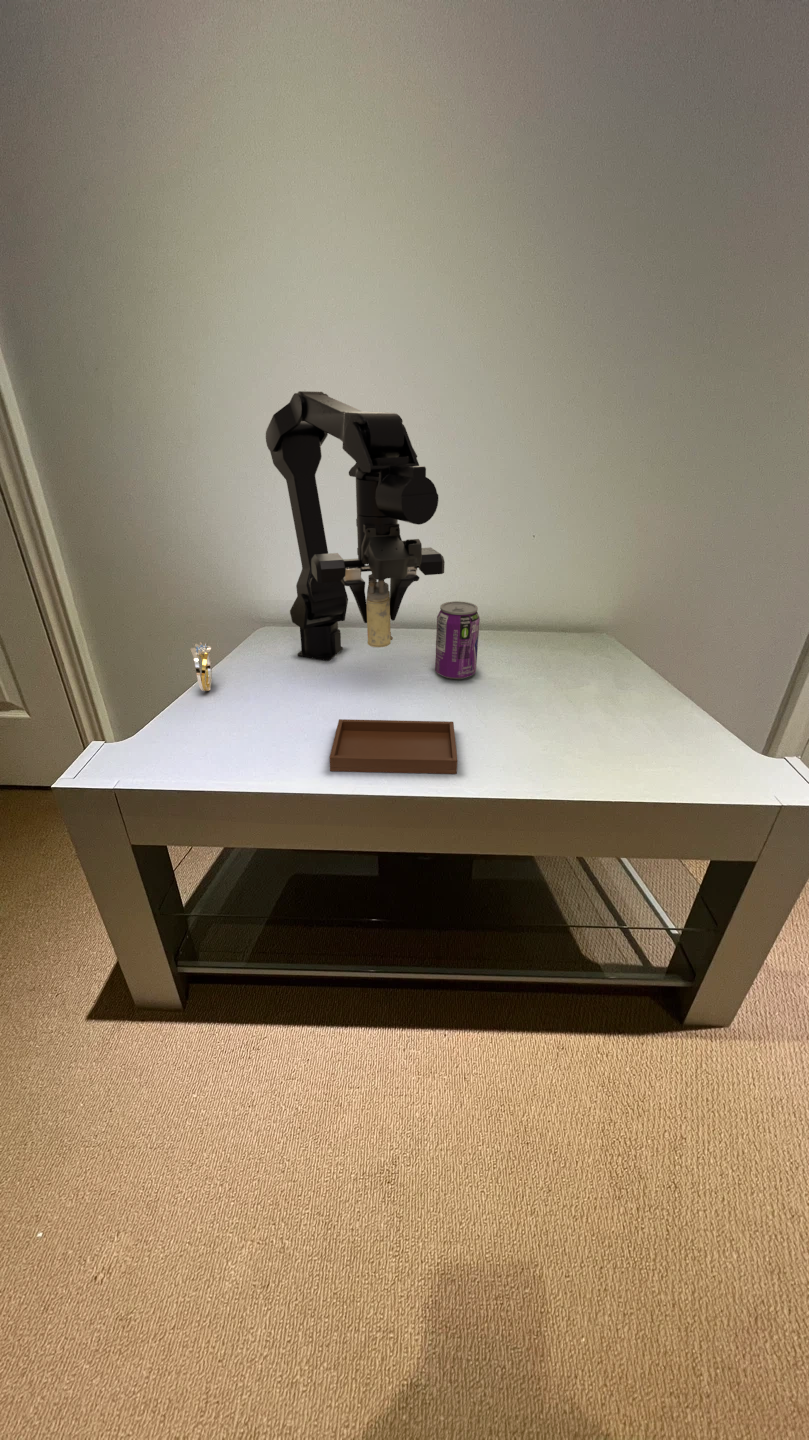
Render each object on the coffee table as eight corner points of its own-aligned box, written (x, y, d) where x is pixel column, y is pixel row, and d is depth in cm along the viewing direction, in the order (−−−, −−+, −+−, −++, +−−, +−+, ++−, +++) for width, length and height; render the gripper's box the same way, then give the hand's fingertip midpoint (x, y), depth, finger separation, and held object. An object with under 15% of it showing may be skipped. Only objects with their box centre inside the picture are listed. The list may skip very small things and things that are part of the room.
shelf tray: (330, 771, 76) (329, 757, 75) (339, 732, 85) (338, 719, 84) (456, 774, 76) (457, 760, 75) (452, 734, 85) (453, 721, 84)
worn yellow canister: (369, 631, 95) (366, 568, 90) (393, 631, 95) (392, 568, 90) (367, 648, 88) (364, 582, 83) (392, 648, 88) (391, 582, 83)
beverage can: (473, 683, 100) (478, 615, 94) (431, 680, 101) (434, 612, 95) (477, 667, 106) (482, 602, 100) (438, 663, 107) (440, 599, 101)
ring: (213, 699, 93) (205, 652, 90) (192, 699, 93) (184, 652, 89) (221, 680, 100) (215, 635, 96) (202, 681, 99) (194, 636, 95)
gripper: (320, 527, 74) (327, 645, 81) (460, 520, 78) (455, 633, 86) (307, 513, 83) (314, 620, 90) (433, 507, 88) (430, 610, 95)
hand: (379, 621), depth 90 cm, fingers closed on worn yellow canister, 4 cm apart
